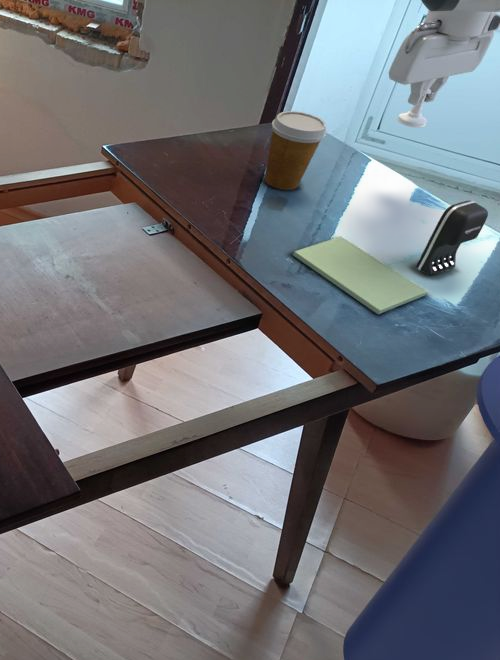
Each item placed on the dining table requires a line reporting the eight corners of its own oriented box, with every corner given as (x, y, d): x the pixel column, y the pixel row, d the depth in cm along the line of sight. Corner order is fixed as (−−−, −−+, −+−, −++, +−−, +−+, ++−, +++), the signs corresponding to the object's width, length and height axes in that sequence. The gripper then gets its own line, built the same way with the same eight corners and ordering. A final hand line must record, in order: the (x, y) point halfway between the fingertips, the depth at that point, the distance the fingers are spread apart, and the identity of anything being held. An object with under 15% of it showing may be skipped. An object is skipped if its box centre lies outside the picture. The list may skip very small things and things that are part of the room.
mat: (425, 295, 105) (427, 291, 104) (377, 314, 100) (380, 310, 100) (339, 240, 115) (340, 236, 115) (292, 255, 111) (294, 251, 110)
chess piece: (426, 129, 121) (452, 72, 114) (397, 124, 122) (421, 66, 115) (425, 120, 124) (450, 63, 118) (396, 114, 125) (419, 58, 119)
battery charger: (432, 281, 108) (467, 217, 100) (412, 268, 110) (445, 205, 102) (460, 271, 110) (497, 208, 103) (440, 258, 113) (474, 196, 105)
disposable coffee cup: (284, 167, 135) (304, 107, 127) (317, 190, 128) (340, 128, 120) (245, 174, 131) (263, 113, 124) (277, 197, 125) (298, 135, 117)
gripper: (433, 29, 105) (396, 117, 114) (510, 18, 114) (470, 100, 123) (398, 18, 109) (366, 103, 118) (475, 7, 118) (440, 88, 127)
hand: (420, 102), depth 121 cm, fingers closed on chess piece
